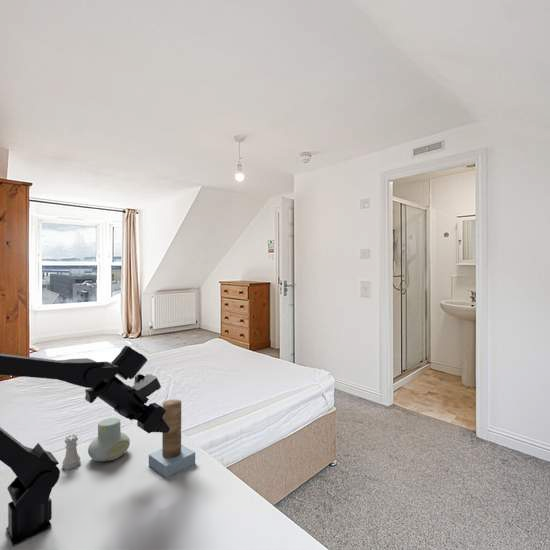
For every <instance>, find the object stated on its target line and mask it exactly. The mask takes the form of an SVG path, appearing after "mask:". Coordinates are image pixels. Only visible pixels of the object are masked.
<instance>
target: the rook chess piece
mask: <svg viewBox="0 0 550 550" xmlns="http://www.w3.org/2000/svg"><path fill="white" fill-rule="evenodd" d="M78 440H79V438H78V437H77V434H72V435H71V434H70V435H68V436H66V437H65V440H64V443H65V445H66V446H65V450H66V452H65V456H64V458H63V460H62V465H61V467H62V468H63V469H64V470H67V471H68V470H72V469H75V468H77V467H79V466H80V464H81V463H82V461H81V456H80V455H79V454H78V449H77V446H78V443H77V442H78Z"/></svg>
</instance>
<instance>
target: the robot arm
mask: <svg viewBox="0 0 550 550" xmlns="http://www.w3.org/2000/svg"><path fill="white" fill-rule="evenodd" d="M147 362H148V358H146V356H145V355H144V354H142V353H139V351H137V350H135V349H133V348H132V347H130V345H124V346H123V348H122V349H121V351H120V352H119V353H118V354H117V356H115V358H114V359H113V360H112V362H109V361H95V360H94V359H91V358H84V357H83V358H70V359H69V358H68V359H61V360H60V359H50V358H42V357H41V358H40V357H33V356H27V355H26V356H25V355H17V354H16V355H15V354H7V353H0V375H1V376H10V377H11V376H12V377H25V378H36V379H37V378H38V379H49V380H59V381H60V382H61V381H62V382H65V383H67V384H72V385H74V386H79V387H82V388H86V389H85V390H84V391H85V397H84V400H85V401H86V402H88V403H90V404H92V403H94V402H95V401H96V399H97V398H98V399H100V400H101V401H103V402H104V403H105V404H107V405H108V406H110V407H111V408H113V410H114V412H116V413H118V415H120V416H122V417H124V418H126V419H128V420H130V421H133V420H134V421H137V427H138V428H140V429H141V430H143V431H144V432H146V433H147V434H151V433H168V432H169V430H170V428H169V427H168V425H167V424H166V422H165V421H164V419H163V415H164V414H165V413H166V410H165V409H164V408H163V405H159V404H158V403H157V402H153V403H149V404H148V405H147V403H148V401H149V400H150V399H149V398H148V397H150V396H151V395H152V394H154V393H155V392H156V391H158V390H160V389H161V388H162V385H161V383H160V380H159V379H158V378H157V376H155V375H153V374H147V373H146V374H145V375H144V374H142V373H139V372H140V371H141V370H142V368H143V367H144V366H145V364H146V363H147ZM117 376H118V377H117ZM119 377H120V378H121V379H123V380H125V381H127V380H128V379H129V380H133V379H134V383H133V384H134V385H132V386H130V385H129V384H126V383H125V382H123V381H122V380H121V379H120V378H119ZM0 462H2V463H3V464H5V465H6V466H7V467H9V468H10V469H11V471H12V472H13V474H15V476H16V477H15V478H14V480H13V481H12V482H11V483H10V484H9V485H8V486H7V491H8V494H9V496H10V498H11V500H12V501H10V502H8V504H7V509H8V510H7V514H8V515H7V518H8V519H7V524H8V526H7V527H6V528H5V531H6V534H7V536H8V539H9V541H10V543H11V545H12V546H16V545H19V544H20V543H22V542H24V541H27V540H29V539H30V538H32V537H35V536H37V535H39V534H41V533H43V532H45V531H47V530H49V529H51V528H52V523H51V519H52V515H53V513H52V512H53V511H52V510H53V509H52V508H53V507H52V506H53V505H52V503H53V502H52V499H51V498H50V496H51V493H52V490H53V488H54V487H55V486H56V484H57V483H58V481H59V479H60V476H61V475H60V474H61V471H60V470H61V469H59V466H58V465H59V461H58V460H57V459H56V457H55V456H54V455H53V453H52V452H51V451H47V450H45V449H44V448H43V446H41V444H40V443H39V442H37V443H36V445H35V446H34V447H33V448H32V447H28V446H25V445H24V444H22V443H21V442H20V441H18V440H17V439H16V438H15V437H13V435H11V434H10V433H8V432H7V431H6V430H5V429H3V428H2V427H1V426H0Z"/></svg>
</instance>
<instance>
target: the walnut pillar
mask: <svg viewBox="0 0 550 550" xmlns="http://www.w3.org/2000/svg"><path fill="white" fill-rule="evenodd" d="M162 407H163V408H164V409H165V410H166V413H165V414H164V415H163V419H164V421H165V422H166V424H167V425H168V427H169V428H170V430H169V432H168V433H162V441H161V444H162V445H161V446H162V448H161V449H162V456H163V457H165V458H174V457H177V456H179V455H180V454H181V445H182V400H179V399H168V400H165V401H164V402H162Z"/></svg>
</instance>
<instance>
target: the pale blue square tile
mask: <svg viewBox="0 0 550 550" xmlns="http://www.w3.org/2000/svg"><path fill="white" fill-rule="evenodd" d="M194 464H196V451H193V450H191V449H190V448H189V447H187V446H184V444H181V454H180V455H179V456H177V457H174V458H165V457H163V456H162V448H161V449H158V450H156V451H153V452H151V453H149V454H148V466H149V467H150V468H152V469H153V470H155V471H156V472H157V473H158V474H160V475H161V476H162V477H164V478H165V479H167V478H168V477H171V476H172V475H174V474H177V473H178V472H180V471H183V470H184V469H187V468H188V467H191V466H192V465H194Z"/></svg>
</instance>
